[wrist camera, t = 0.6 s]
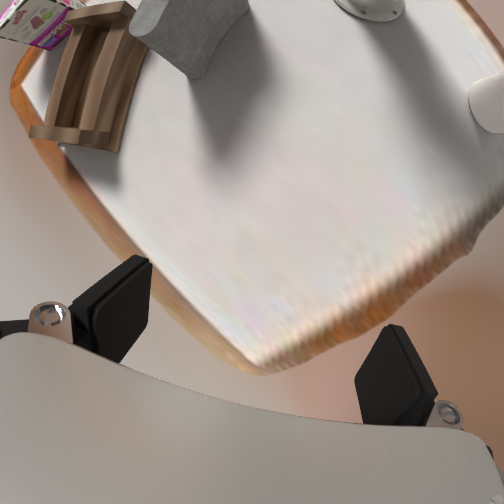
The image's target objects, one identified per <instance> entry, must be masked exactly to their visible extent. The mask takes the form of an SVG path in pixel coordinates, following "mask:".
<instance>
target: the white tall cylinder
mask: <svg viewBox="0 0 504 504" xmlns="http://www.w3.org/2000/svg"><path fill="white" fill-rule="evenodd" d="M469 103H470V108H471V110H472V113H473V115H474V117H475V119H476V120H477V122H478V123H479V124H480V125H481V126H482V127H483V128H484V129H485V130H487V131H489V132H491V133H504V72H502V73H498V74H495V75H492V76H488V77H485V78H482V79H479V80H477V81H475V82H474V83H473V84H472V86H471V87H470V90H469Z"/></svg>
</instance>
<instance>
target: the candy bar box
mask: <svg viewBox="0 0 504 504" xmlns="http://www.w3.org/2000/svg"><path fill="white" fill-rule="evenodd" d="M84 7H86V5H85V4H84V3H82V2H80V1H78V0H13V2H12V3H11V4H10V5H9V6H8V7H7V8H6V10H5V11H4V12H3V13H2V14H1V16H0V38H4V39H8V40H12V41H17V42H21V43H24V44H28V45H32V46H36V47H39V48H42V49H46V50H49V51H50V50H51V49H52V48H53V47H55V46H56V45H57V44H58V43H59V42H60V41H61V40H62V39H63V38H64V37H66V36H67V35H68V34H69V33H70V32H71V31H72V29H73V27H74V26H72V25H70V24H68V23H66V22H64V19H65V16H66V14H67V12H68V11H71V10H75V9H79V8H84Z"/></svg>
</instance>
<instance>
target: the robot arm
mask: <svg viewBox="0 0 504 504" xmlns="http://www.w3.org/2000/svg"><path fill="white" fill-rule="evenodd" d="M335 1H336V2H337V3H338V4H339V5H340V6H341V7H342V8H344V9H345V10H346V11H348V12H349V13H351V14H353V15H355V16H357V17H360V18H362V19H365V20H369V21H374V22H388V21H392V20H394V19H396V18H397V17H399V16H400V15H401V13H402V12H403V10H404V6H405V2H404V0H335ZM151 276H152V264H151V263H149V259H148V258H145V257H142V256H138V255H133V256H131V257H130V258H129V259H127V260H126V261H125V262H123V263H122V264H120V265H119V266H118V267H116V268H115V269H114V270H112V271H111V272H110V273H109V274H107V275H106V276H104V277H103V278H102V279H101V280H99V281H98V282H97V283H95V284H94V285H93V286H91V287H90V288H89V289H88V290H86V291H85V292H84V293H83V294H81V295H80V296H79V297H78V298H76V299H75V300H74V301H73V304H72V305H70V306H69V307H68V308H67V307H66V306H65V305H63V304H61V303H58V302H43V303H41V304H38V305H37V306H35V307H34V308H33V309H32V310H31V312H30V315H29V316H30V317H29V319H28V320H14V321H0V504H504V474H503V472H502V471H501V470H500V469H499V468H498V467H497V465H495V463H494V459H493V455H492V454H493V453H492V450H491V449H490V448H489V447H488V446H486V445H485V444H484V443H483V441H482V440H481V439H479V438H478V437H477V436H475V435H473V434H471V433H469V432H466V431H464V430H463V429H461V428H462V424H463V416H462V414H461V412H460V410H459V409H458V408H457V406H455V405H454V404H452V403H451V402H449V401H446V400H439V401H437V402H436V403H435V402H434V399H435V397H436V396H437V395H438V392H437V390H436V388H435V386H434V384H433V382H432V380H431V378H430V376H429V374H428V372H427V370H426V368H425V366H424V364H423V363H422V360H421V359H420V357H419V355H418V353H417V351H416V349H415V348H414V346H413V344H412V342H411V340H410V338H409V337H408V335H407V333H406V332H405V330H404V328H403V327H402V326H398V325H393V324H389V325H388V326H387V327H386V326H385V327H384V328H383V329H382V331H381V333H380V334H379V336H378V338H377V340H376V342H375V344H374V345H373V347H372V349H371V351H370V352H369V354H368V356H367V357H366V359H365V361H364V362H363V364H362V366H361V368H360V369H359V371H358V372H357V374H356V376H355V387H356V391H357V396H358V400H359V405H360V410H361V414H362V420H363V424H358V423H347V422H338V421H329V420H321V419H314V418H307V417H302V416H295V415H290V414H284V413H279V412H274V411H269V410H264V409H260V408H255V407H251V406H246V405H242V404H238V403H234V402H230V401H226V400H223V399H219V398H216V397H212V396H208V395H205V394H202V393H198V392H195V391H192V390H189V389H186V388H182V387H180V386H177V385H174V384H171V383H168V382H165V381H162V380H159V379H157V378H154V377H151V376H148V375H146V374H143V373H141V372H138V371H136V370H133V369H131V368H129V367H126V366H124V365H121V364H119V363H120V362H121V360H122V359H123V358H124V356H125V355H126V354H127V352H128V350H130V348H131V347H132V346H133V344H134V343H135V341H136V340H137V339H138V337H139V336H140V335H141V333H142V332H143V331H144V329H145V328H146V325H147V323H148V311H149V298H150V287H151Z"/></svg>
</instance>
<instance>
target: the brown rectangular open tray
mask: <svg viewBox="0 0 504 504" xmlns="http://www.w3.org/2000/svg"><path fill="white" fill-rule="evenodd" d="M135 12H136V9H134V8H133V7H132V6H131V5H130V4H128V3H127V2H126V1H118V2H111V3H105V4H99V5H94V6H89V7H84V8H79V9H75V10H71V11H68V12H67V14H66V16H65V19H64V22H66V23H68V24H70V25H72V26H74V27H73V29H72V32H71V34H70V37H69V39H68V42H67V44H66V47H65V50H64V52H63V55H62V58H61V61H60V64H59V67H58V70H57V73H56V76H55V80H54V83H53V87H52V90H51V94H50V98H49V102H48V106H47V110H46V115H45V120H44V124H43V125H31V128H30V133H29V138H36V139H44V140H52V141H54V142H59V143H66V144H72V145H79V146H85V147H91V148H97V149H102V150H108V151H113V152H118V151H119V147H120V142H121V137H122V133H123V129H124V125H125V121H126V117H127V113H128V109H129V105H130V102H131V98H132V95H133V91H134V88H135V85H136V81H137V78H138V75H139V72H140V69H141V66H142V63H143V60H144V57H145V55H146V52H147V49H148V46H147V45H146V44H144V43H143V42H141V41H140V40H139V39H137V38H136V37H134V36H133V35H131V34H130V32H129V25H130V23H131V20H132V18H133V16H134V14H135Z"/></svg>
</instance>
